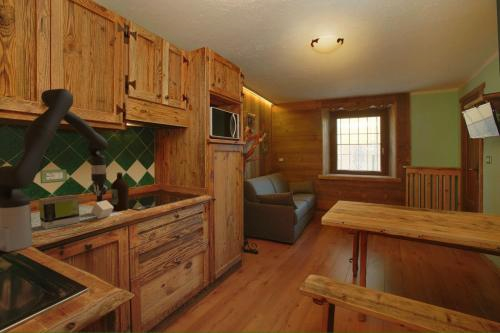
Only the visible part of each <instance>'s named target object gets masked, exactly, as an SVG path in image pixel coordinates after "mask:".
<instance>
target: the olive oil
mask: <svg viewBox="0 0 500 333" xmlns="http://www.w3.org/2000/svg"><path fill="white" fill-rule="evenodd" d="M110 193H111V205H112V206H113V207H114V208H113V210H112V212H123V210H124V211H128V210H129V209H130V208H129V206H130V204H129V203H130V202H129V201H130V200H129V199H130V197H129V196H130V185H129V183H128V182H127V181H126V180H125V178H123V172H121V171H120V172H116V179H115V180H114V181H113V182H112V183H111V184H110Z"/></svg>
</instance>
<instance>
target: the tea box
mask: <svg viewBox="0 0 500 333" xmlns="http://www.w3.org/2000/svg"><path fill="white" fill-rule="evenodd" d="M38 205H39V206H38V207H39V217H40V218H39V221H40V226H41V227H42V228H43V229H44V228H45V230H48V229H53V228H59V227H63V226H69V225H73V224H77V223H80V222H81V220H80V207H79V206H80V205H79V196H77V195H74V194H68V195H61V196H60V195H59V196H52V197H45V198H44V197H43V198H39V199H38Z"/></svg>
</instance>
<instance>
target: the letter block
mask: <svg viewBox="0 0 500 333" xmlns="http://www.w3.org/2000/svg"><path fill="white" fill-rule="evenodd" d="M113 208H114V207H113V206H112V203H110V202H109V201H108V200H102V201H100V202H97V201H96V202H95V203H94V205H93V207H92V209H91V213H92V214H93V215H94V216H95V218H97V220H101V219H106V218H108V217H110V216H111V215H112V212H113Z"/></svg>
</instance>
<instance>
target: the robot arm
mask: <svg viewBox="0 0 500 333" xmlns="http://www.w3.org/2000/svg"><path fill="white" fill-rule="evenodd" d="M40 97H41V101H42V102H43V104H44V105H45V106H46V107H47V109H46V110H45V111H44V112H42V113H41V114H39V116H37V117H36V118H34V120H32V121H31V122H30V123H29V124H28V126H27V128H26V130H25V131H24V134H23V136H22V144H23V150H24V151H23V154H22V157H21V158H20V160H19V162H18V164H17V165H2V166H0V251H1V252H5V253H9V252H14V251H19V250H24V249H27V248H29V247H31V246H32V245H33V244H34V242H33V240H34V239H33V230H32V228H33V227H32V213H31V212H32V209H31V198H30V197H29V196H27V195H26V194H24V193H23V192H21V190H22V189H27V188H28V187H30V186H31V185H32V183H33V182H34V181H35V178H36V177H37V173H38V171H39V168H40V165H41V163H42V161H43V158H44V156H45V154H46V152H47V149H48V147H49V146H50V144H51V142H52V140H53V138H54V136H55V134H56V132H57V130H58V128H59V126H60V125H61V123H62V121H64V122H66V123H67V124H68V125H69V126H70V127H71V128H73V129H74V131H75V132H77V133H78V135H79V136H80V137H81V138H82V139H83V140H85V141H88V142H87V145H86V146H87V150H88V153H89V156H90V158H91V159H90V160H91V161H90V162H91V165H90V166H91V168H90V171H91V172H90V173H91V174H90V176H91V181H92V185H90V187H89V188H90V189H91V192H92V193H93V195H94V196H96V202H100V201H103V196H105V195H106V194H107V192H108V190H109V186H107V185H106V184H107V183H106V181H107V180H108V179H107V167H106V166H107V165H106V156H105V155H102V154H101V152H104V151H107V150H108V147H109V143H108V141H107V140H106V139H105V138H104V136H102V135H101V134H99V133H98V132H96V131H95V130H94V129H93V127H92V126H91V125H90V124H89V122H87V121H86V120H85V119H83V118H81V117H79V116H78V115H76V114H75V113H73V112H72V111H70V109H71V108H72V107H73V104H74V95H73V94H72V92H71V91H70V90H68V89H66V88H53V89H51V88H50V89H46V90H44V91H43V92H42V93H41V96H40Z"/></svg>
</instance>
